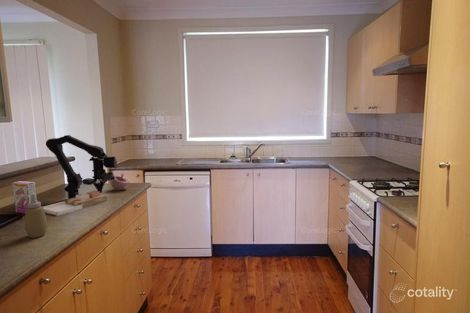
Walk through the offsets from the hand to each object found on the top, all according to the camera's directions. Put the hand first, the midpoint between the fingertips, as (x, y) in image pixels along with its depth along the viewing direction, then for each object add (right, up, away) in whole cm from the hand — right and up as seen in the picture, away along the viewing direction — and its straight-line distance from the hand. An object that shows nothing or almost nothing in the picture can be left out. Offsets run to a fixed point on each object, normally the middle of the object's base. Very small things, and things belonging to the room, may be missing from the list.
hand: (100, 193), depth 189 cm
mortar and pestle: (+4, -1, +23) cm, 24 cm away
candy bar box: (-28, -8, -25) cm, 38 cm away
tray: (-12, -7, -21) cm, 25 cm away
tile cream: (-6, -2, -10) cm, 12 cm away
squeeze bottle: (-2, -12, -56) cm, 58 cm away
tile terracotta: (-2, -1, -4) cm, 5 cm away
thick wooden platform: (-4, -5, -7) cm, 10 cm away
